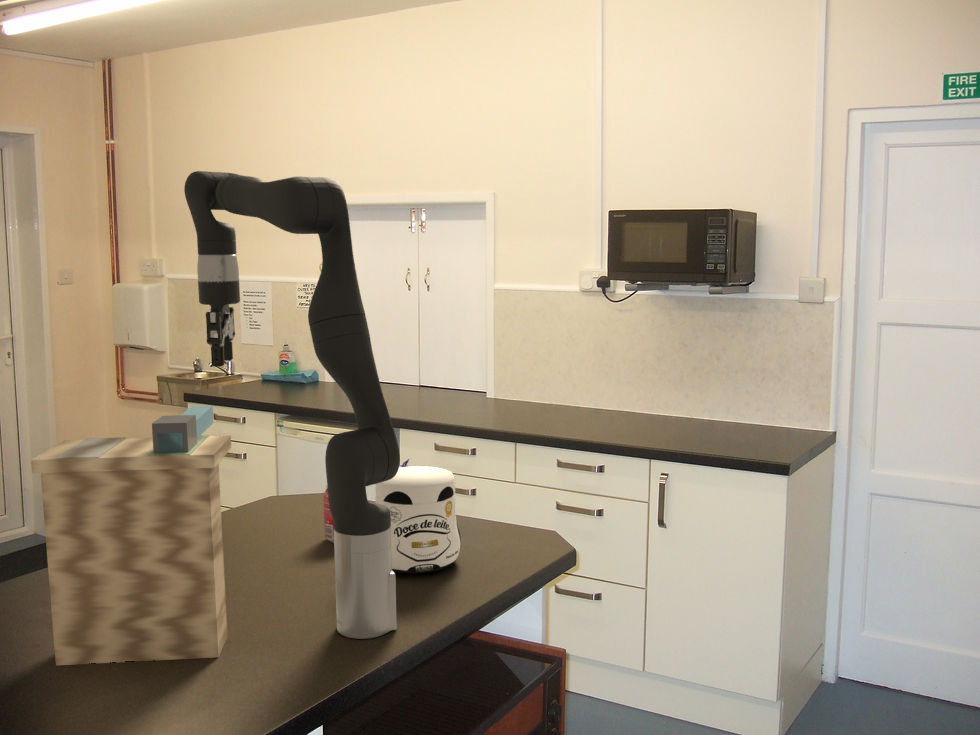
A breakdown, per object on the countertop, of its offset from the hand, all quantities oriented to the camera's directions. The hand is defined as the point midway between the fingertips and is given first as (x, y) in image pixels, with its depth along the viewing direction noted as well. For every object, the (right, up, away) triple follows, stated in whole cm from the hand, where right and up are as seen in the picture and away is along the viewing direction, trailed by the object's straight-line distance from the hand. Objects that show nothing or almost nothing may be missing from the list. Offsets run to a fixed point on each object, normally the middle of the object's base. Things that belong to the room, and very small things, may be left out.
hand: (222, 363), depth 171 cm
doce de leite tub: (+37, -40, +4) cm, 55 cm away
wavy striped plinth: (-3, -45, -30) cm, 54 cm away
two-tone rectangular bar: (+3, -12, -28) cm, 31 cm away
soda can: (+20, -38, +19) cm, 47 cm away
